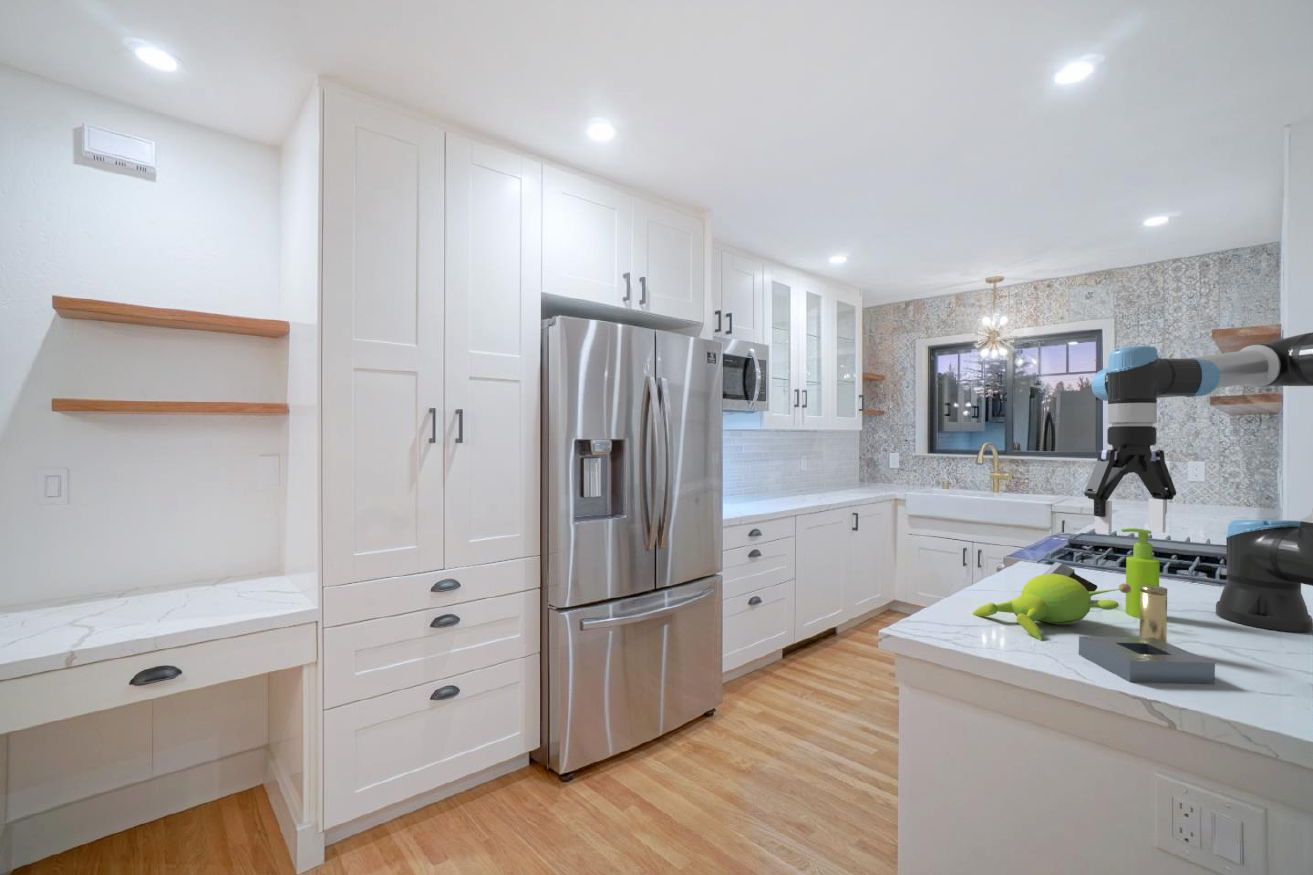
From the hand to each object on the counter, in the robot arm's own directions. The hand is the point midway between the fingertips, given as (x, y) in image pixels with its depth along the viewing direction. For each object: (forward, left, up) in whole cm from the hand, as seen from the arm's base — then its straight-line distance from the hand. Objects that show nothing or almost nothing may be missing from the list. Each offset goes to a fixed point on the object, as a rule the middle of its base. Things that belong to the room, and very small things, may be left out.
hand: (1130, 532), depth 114 cm
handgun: (-7, -31, -23) cm, 39 cm away
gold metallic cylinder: (-3, +2, -22) cm, 23 cm away
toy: (+5, -14, -23) cm, 27 cm away
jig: (+7, +12, -22) cm, 26 cm away
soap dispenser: (-18, -20, -23) cm, 35 cm away
